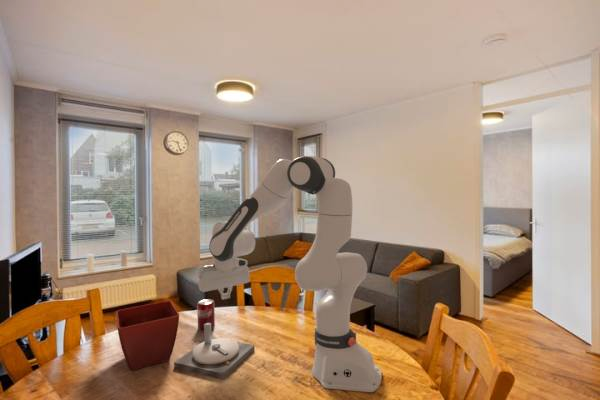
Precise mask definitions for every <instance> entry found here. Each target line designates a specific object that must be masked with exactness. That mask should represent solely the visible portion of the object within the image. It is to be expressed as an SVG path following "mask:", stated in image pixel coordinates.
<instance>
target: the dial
mask: <svg viewBox="0 0 600 400" xmlns="http://www.w3.org/2000/svg"><path fill="white" fill-rule="evenodd" d="M211 337H212V330H211V323H206V324H204V332H203V339H204V340H203V341H202V342H201V343H199V344H197V345H196V346H195V347H194V348H193V349H194V350H193V349H192V350H193V359H194V360H195V361H196V362H198V363H201V364H209V365H210V364H219V363H223V362H225V361H227V360H230V359H232V358H234V357H235V356H236V355H237V354H238V352H239V345H238V343H237V342H238V341H236V340H235V339H232V338H228V337H227V338H226V337H219V338H218V337H215V338H216V339H212V338H211Z"/></svg>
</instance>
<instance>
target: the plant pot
mask: <svg viewBox="0 0 600 400" xmlns="http://www.w3.org/2000/svg"><path fill="white" fill-rule="evenodd" d="M115 315H116V323H117V324H116V325H117V333H118V339H119V343H120V347H121V351H122V353H123V356H124V360H125V363H126V364H127V366H128V370H130V371H136V370H138V369H143V368H145V367H150V366H153V365H156V364H159V363H164V362H167V361H169V360H170V359H171V356H172V354H173V351H174V347H175V345H176V343H175V342H176V340H177V334H178V329H179V323H180V321H179V320H180V313H179V312H178V310H177V308H176V307H175V305H174V304H173V302H172V301H171V300H166V301H165V300H164V301H159V302H154V303H149V304H144V305H138V306H132V307H128V308H123V309H121V308H120V309H118V310H116V311H115Z"/></svg>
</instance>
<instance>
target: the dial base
mask: <svg viewBox="0 0 600 400" xmlns="http://www.w3.org/2000/svg"><path fill="white" fill-rule="evenodd" d="M211 338H212V339H216V338H217V337H212V336H211ZM236 342H237V343H238V345H239V352H238V354H237V355H236V356H235V357H234V358H232V359H230V360H227V361H225V362H223V363H219V364H210V365H209V364H201V363H198V362H196V361H195V360H194V359H193V350H194V348H193V349H191V350H190V351H189V352H187V353H186V354H184V355H183V356H181V357H180V358H178V359H177V360H175V361H173V367H174V369H176V370H180V371H185V372H189V373H192V374H193V373H194V374H197V375H202V376H206V377H209V378H215V379H219V380H223V381H224V380H225V379H226V378H227V377H228V376H230V374H231V373H233V371H234V370H236V369H237V368H238V366H240V365H241V364H242V363H243V362H244V361H245V360H246V359H247V358H248V357H249V356H251V354H252V353H253V352H254V351H255V344H252V343H251V344H250V343H246V342H245V343H244V342H241V341H236Z"/></svg>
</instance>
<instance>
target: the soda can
mask: <svg viewBox="0 0 600 400" xmlns="http://www.w3.org/2000/svg"><path fill="white" fill-rule="evenodd" d="M196 306H197V307H196V309H197V311H196V312H197V330H198V331H200V332H203V333H204V324H206V323H211V331H212V330H213V329H214V328H215V326H216V325H215V324H216V322H215V321H216V319H215V318H216V317H215V315H216V312H215V300H214V299H210V298H208V299H201V300H199V301H198V302H197V305H196Z"/></svg>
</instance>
